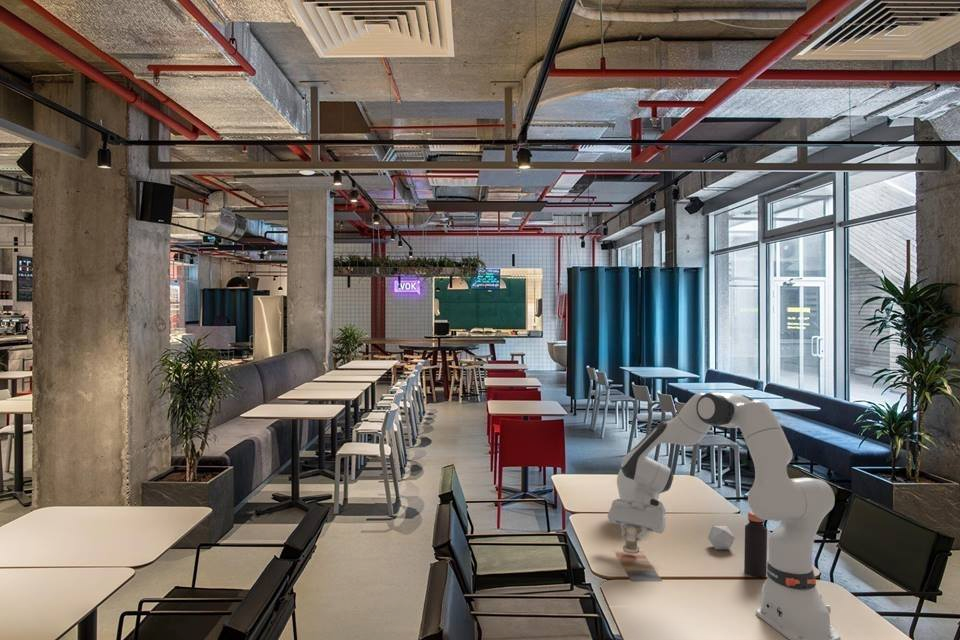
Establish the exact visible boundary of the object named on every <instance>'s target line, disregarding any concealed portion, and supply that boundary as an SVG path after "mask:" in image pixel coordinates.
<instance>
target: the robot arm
mask: <svg viewBox="0 0 960 640" xmlns="http://www.w3.org/2000/svg"><path fill="white" fill-rule="evenodd" d="M712 426H713V427H723V428H726V429H738V428H739V430H740V431H741V433H742V436H743V438H744V441H745V444H746V446H747V449H748V451H749V454H750V457H751V459H752V462H753V465H754V474H755V475H754V482H753V485H751V488H750V489H749V491H748V495H747V496H748V497H747V502H748V506H749V508H750V511H752V512H753V513H754V514H755V515H756V516H757V517H758V518H760V519H764V521H772V522H773V521H774V522H780V523H779V525H778V526H777V527H776V528H775V529H774V530H773V531H772V532H771V533H770V535H769V539H768V541H769V542H768V544H769V545H768V548H769V549H768V552H769V553H768V561H767V572H766V576H767V578H766V580H765V582H764V583H763V585H762V587H761V597H760V607H758V608H756V610H755V615H756V616H757V617H759V618H760V619H761V620H763V621H765V623H767V624H768V625H769V626H771V627H772V628H773V629H774V630H776V631H777V632H779V633H780V634H781V635H782V636H784V637H785V638H787V639H788V640H841V636H840V634H839V632H838V631H837V630H836V629H835V626H833V625H832V622H831V619H830V618H831V617H830V614H831V611H832V610H831V609H832V608H831V605H830V604H825V603H824V601H823V597H822V594H820V593H819V591H818V589H817V587H816V585H817V582H816V581H817V579H816V575H815V572H814V569H813V554H814V553H813V552H814V551H813V550H814V544H815V538H816V536H817V533H818V530H819V528H820V525H821V523H822V521H823V520H824V518H825V517H826V516H827V514H828V513H830V511H832V510H833V508H834V507H835V503H836V502H835V500H836V499H835V498H836V497H835V493H834V491H833V489H832V487H831V486H830V485H829V483H827V482H826V481H825V480H823V479H819V478H814V477H813V478H812V477H806V476H805V477H798V478H797V477H795V478H790V476H789V475H788V469H787V468H788V467H787V466H788V465H789V464H790V462H791V461H792V459H793V458H794V457H793V456H794V455H793V450H792V448H791V444H790V443H789V442H788V441H789V440H788V439H787V437H786V435H785V432H784V429H783V427H782V426H781V423H780V422H779V419H778V418H777V416H776V415H775V413H774V412H773V410H772V409H771V408H770V406H769V405H768V404H767V403H766V402H764V401H763V400H757V399H754V398H752V397H749V396H746V395H745V394H744V395H741V394H736V393H731V392H717V391H711V392H707V393H706V392H698V393H695V394H694V395H692V396H691V398H689V400H688V401H687V402H686V403H685V404H684V406H683V407H682V408H681V409H680V411H679V412H678V413H677V415H675V416H674V417H673V418H671V419H669V420H667V421H666V420H665V421H664V420H663V421H660V422H658V424H657V425H656V426H654V427H653V428H652V429H651V430H650V431H649V432H648V433H647V434H646V435H645V436H644V437H643V439H641V441H639V443H637V444H636V445H635V446H634V447H633V448H632V449H631V450H630V451H628V452H627V453H626V455H624V457H623V459H622V460H621V463H620V469H621V470H622V472H623V474H624V476H625V477H627V478H630V479H632V480H635V481H634V488H633V489H632V491H631V494H630V497H629V501H628V500H622V499H620V498H617V499H614V500H613V501H612V502H611V507H610V508H609V511H608V514H607V518H608V521H609V522H610V523H611V524H617V525H620V528H621V533H620V536H621V537H622V538H625V534H626V528H627V527H628V526H630V525H631V526H634V527H635V528H636V529H637V530H641V531H640V532H638V533H637V534H636V540H637V541H639V542H641V541H642V538H643V537H644V536H645V535H647V532H653V533H656V534H663V533H664V532H665V529H666V523H667V522H666V521H667V520H666V513H667V511H666V508H665V506H664V504H663V502H661V501H660V500H659V499H658V500H656V499H655V496H656V494H657V493H660V494H663V493H666V492H668V491H669V490H670V489H671V488H672V487H671V486H672V483H673V481H674V473H673V471H672V468H670V467H669V466H667V465H666V464H663V463H661V462H659V461H657V460H654V459H653V458H651V457H649V456H648V455H649V454H650V453H651V451H652V450H653V449H655V447H657V446H658V445H661V444H674V445H679V446H685V447H686V446H693V445H697V444H698V443H700V442H701V441H702V440H703V439H704V437H706V435H707V433H708V432H709V430H710V429H711V428H712Z"/></svg>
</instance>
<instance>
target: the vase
mask: <svg viewBox="0 0 960 640" xmlns="http://www.w3.org/2000/svg"><path fill="white" fill-rule="evenodd" d="M634 481H635V480H632V479H630V478H627V477H625V476H624V474H623V472H622V470H621V468H620V470H619V472H618V473H617V478H616V486H617V487H616V488H617V490H618V495H619V499H622V500H628V501H629V497H630V494H631V491H632V489H633V488H634ZM660 494H661V493H657V494H656V496H655V499H656V500H658V501H659V498H660Z"/></svg>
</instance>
